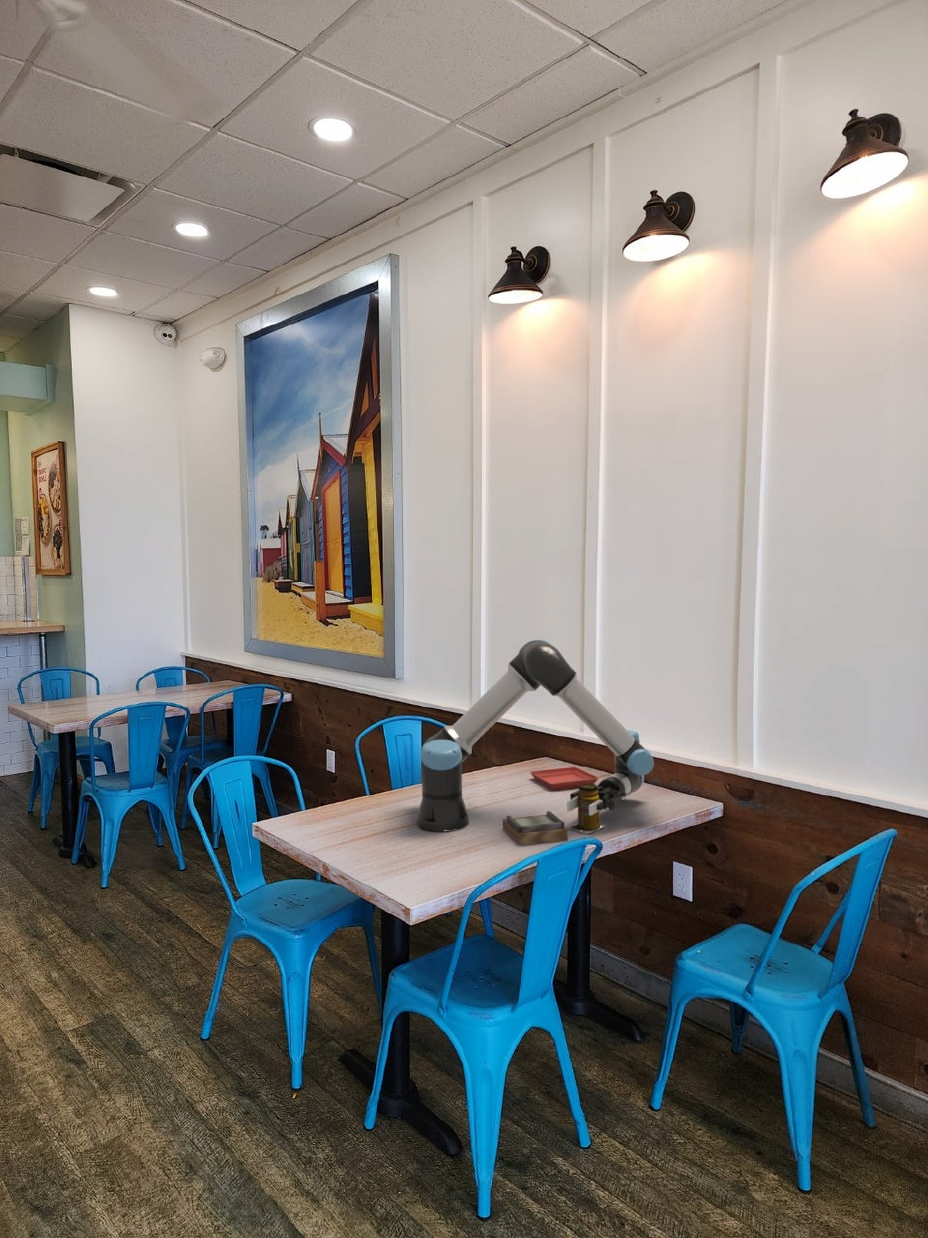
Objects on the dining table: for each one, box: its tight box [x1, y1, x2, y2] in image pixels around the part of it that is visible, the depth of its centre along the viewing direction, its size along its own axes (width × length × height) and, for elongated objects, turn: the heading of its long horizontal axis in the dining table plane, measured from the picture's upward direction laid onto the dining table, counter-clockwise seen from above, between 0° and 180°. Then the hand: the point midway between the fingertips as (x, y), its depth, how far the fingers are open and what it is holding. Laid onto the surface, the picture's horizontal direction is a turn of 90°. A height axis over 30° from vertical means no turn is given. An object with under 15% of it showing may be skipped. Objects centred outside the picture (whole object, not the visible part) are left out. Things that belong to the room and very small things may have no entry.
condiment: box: [567, 783, 607, 835], centre depth 227 cm, size 7×8×12 cm
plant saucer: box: [529, 766, 599, 791], centre depth 276 cm, size 18×18×3 cm
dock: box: [502, 810, 569, 846], centre depth 223 cm, size 14×14×4 cm
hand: (579, 808), depth 223 cm, fingers closed on condiment, 6 cm apart
